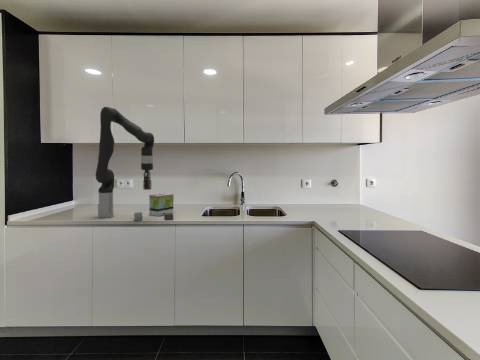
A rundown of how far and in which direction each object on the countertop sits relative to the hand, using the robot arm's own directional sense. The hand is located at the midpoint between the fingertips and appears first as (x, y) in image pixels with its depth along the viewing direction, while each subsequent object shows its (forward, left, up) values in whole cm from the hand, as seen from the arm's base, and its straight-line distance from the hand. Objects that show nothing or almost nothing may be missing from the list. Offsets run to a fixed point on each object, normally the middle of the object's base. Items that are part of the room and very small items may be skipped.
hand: (147, 188), depth 201 cm
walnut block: (0, 0, -1) cm, 1 cm away
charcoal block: (+14, -1, -21) cm, 26 cm away
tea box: (+7, +18, -22) cm, 29 cm away
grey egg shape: (-6, -2, -21) cm, 22 cm away
